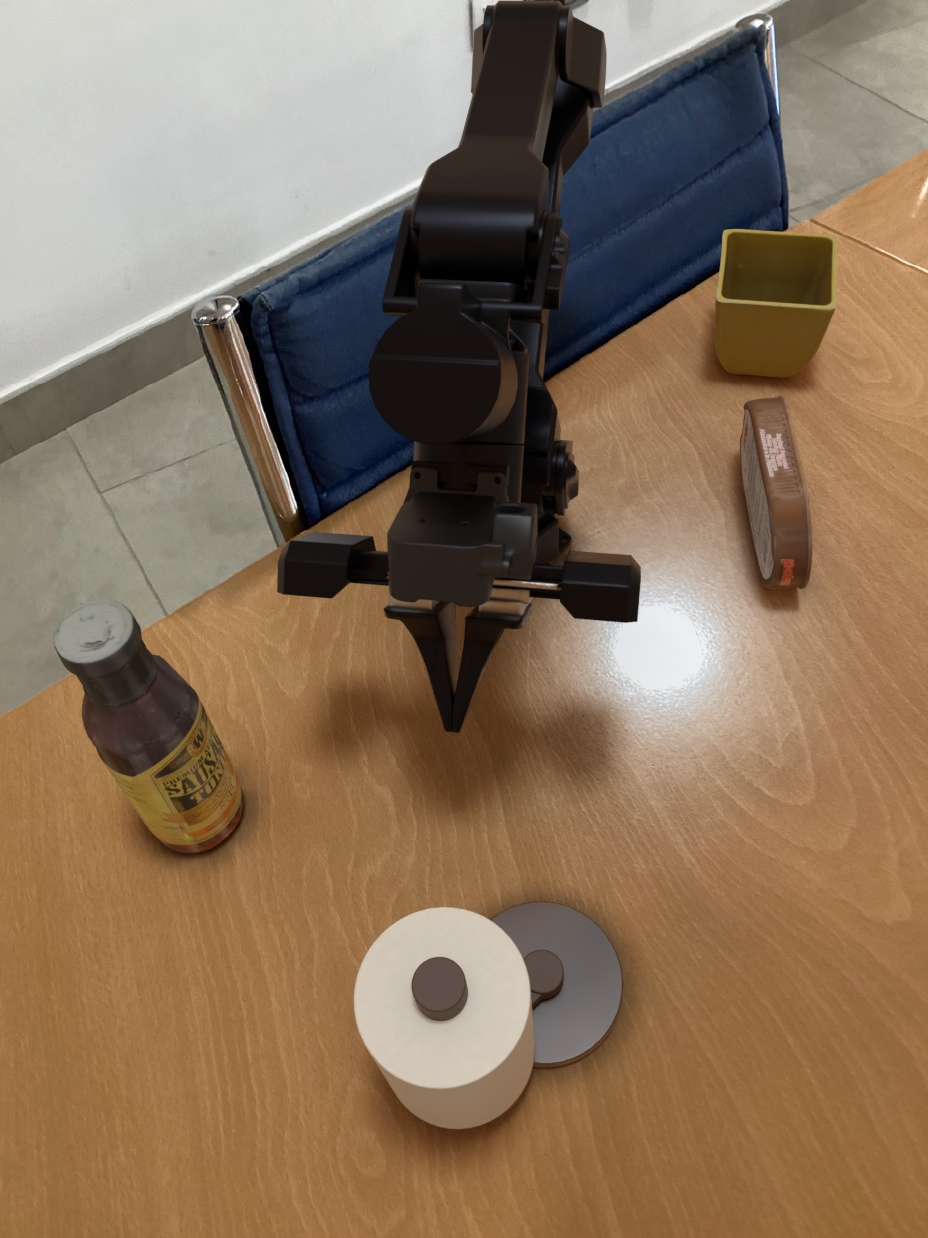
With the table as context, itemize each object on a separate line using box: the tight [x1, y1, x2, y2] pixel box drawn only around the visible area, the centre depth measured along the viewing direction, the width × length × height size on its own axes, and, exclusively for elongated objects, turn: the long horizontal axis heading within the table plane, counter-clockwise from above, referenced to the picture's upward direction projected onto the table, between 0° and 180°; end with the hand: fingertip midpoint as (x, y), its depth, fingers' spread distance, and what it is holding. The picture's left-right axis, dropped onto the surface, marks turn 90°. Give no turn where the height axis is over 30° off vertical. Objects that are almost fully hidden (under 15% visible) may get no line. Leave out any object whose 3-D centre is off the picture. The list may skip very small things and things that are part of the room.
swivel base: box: [490, 900, 624, 1069], centre depth 60 cm, size 9×9×1 cm
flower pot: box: [713, 228, 839, 379], centre depth 84 cm, size 9×9×9 cm
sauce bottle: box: [52, 598, 244, 854], centre depth 60 cm, size 7×6×20 cm
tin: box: [739, 395, 814, 590], centre depth 74 cm, size 15×3×8 cm, turn 179°
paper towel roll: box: [353, 906, 564, 1132], centre depth 52 cm, size 10×9×13 cm
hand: (453, 730), depth 58 cm, fingers closed
